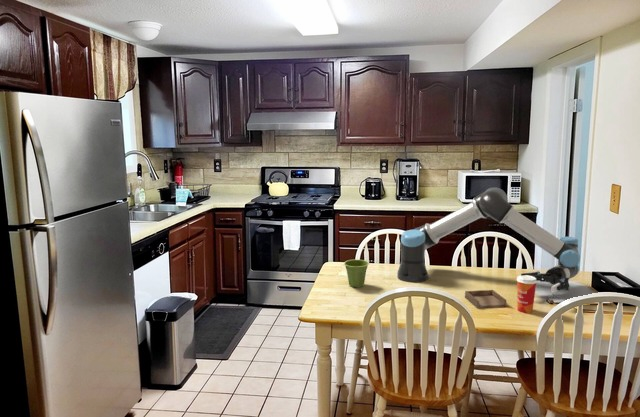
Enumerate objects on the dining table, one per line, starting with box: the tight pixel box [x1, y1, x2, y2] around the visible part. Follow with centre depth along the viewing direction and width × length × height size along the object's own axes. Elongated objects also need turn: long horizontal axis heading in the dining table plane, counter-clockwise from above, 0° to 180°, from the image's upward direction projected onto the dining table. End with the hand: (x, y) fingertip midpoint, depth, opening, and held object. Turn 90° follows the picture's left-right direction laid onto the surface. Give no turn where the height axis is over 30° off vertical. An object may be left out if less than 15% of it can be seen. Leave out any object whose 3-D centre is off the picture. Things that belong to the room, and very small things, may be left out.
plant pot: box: [343, 259, 370, 288], centre depth 221 cm, size 12×12×11 cm
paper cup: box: [516, 275, 538, 314], centre depth 187 cm, size 8×8×14 cm
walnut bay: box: [464, 289, 507, 309], centre depth 197 cm, size 13×13×3 cm
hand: (535, 285), depth 193 cm, fingers open, 13 cm apart
